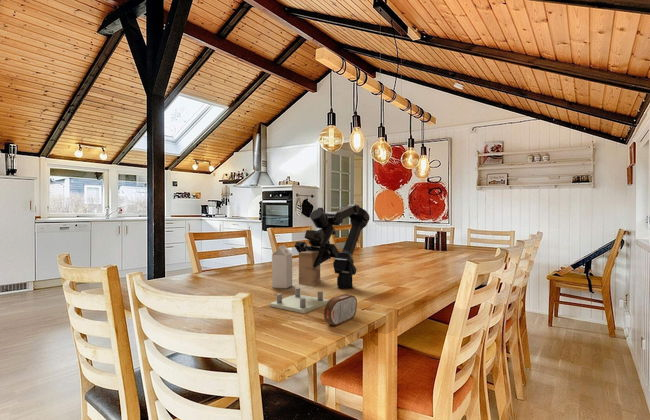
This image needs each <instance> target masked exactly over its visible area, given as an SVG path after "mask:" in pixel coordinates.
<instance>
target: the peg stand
mask: <svg viewBox="0 0 650 420" xmlns="http://www.w3.org/2000/svg"><path fill="white" fill-rule="evenodd" d="M323 296H324V293H323V291H317V297H316V296H309V295H304V294H301V288H300V287H297V288H294V294H292V295H289V296H286V297H284V298H283V294H282V293H277V294H276V300H275V301H272V302H269V307H271V308H277V309H280V310H286V311H289V312H290V311H291V312H296V313H301V314H306V313H308V312H311V311H313V310H316V309H318V308H320V307H323V306H326V304H327V302H328V301H329V300H330V299H328V298H324V297H323Z"/></svg>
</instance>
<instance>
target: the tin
mask: <svg viewBox="0 0 650 420" xmlns="http://www.w3.org/2000/svg"><path fill="white" fill-rule="evenodd" d="M328 300H329V301H328V302H327V304H325V305H324V310H323V319H324V321H325V323H326V324H329V325H332V326H338V325H340V324H343V323H345V322H348V321H349V320H352V319H353V318H354V316H355V315H356V313H357V308H358V300H357V298H356V296H355V295H353V294H349V293H344V294H341V295H340V294H339V295H337V296H334V297H331V298H330V299H328Z"/></svg>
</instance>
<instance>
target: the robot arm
mask: <svg viewBox="0 0 650 420" xmlns="http://www.w3.org/2000/svg"><path fill="white" fill-rule="evenodd" d="M309 218H310V220H311V222H312V223H313V225H314V226H315V228H316V229H317V230H314V229H306V230H305V233H304V237H303V238H305V239H306V240H308V243H309V244H310V245H307V243H306V242H305V241H296V242H295V244H294V245H293V246H294V248H295V250H297V252H298V253H299V252H304V251H316V252H319V255H318V257H317V259H316V261H315V263H314V265H313V267H314V268H316V267H317V266H318V265H320V266H321V264H322V263H324V262H326V261H327V260H331V259H332V258H333V263H332V264H333V270H334V274H338V276H337V277H336V279H337V280H336V286H337V288H338V289H354V288H353V276H354V275H356V274H357V267H356V266H355V264H354V262H355V260H354V257H353V255H354V251H355V249H356V246H357V243H358V241H359V237H360V235H361V231H362V230H363V229H364V228H365V227H367V226H368V223H369V221H370V219H371V218H370V214H369V212H367V210H366V209H364V208H362V207H360V205H359V204H356V203H353V204H347V205H346V206H344V207H342V208H340V209H338V210H336V211H335V210H333V211H326V212H325V210H324V208H323V207H318V208H316V209H314V210H312V212H310V214H309ZM346 218H350V224H351V227H350V230H349V233H348V235H347V237H346V240H345V243H344V245H343V247H342V248H343V249H342V250H341V251H339V250H338V248H337V246H336V245H335V244H334V243H331V242H330V240H331V239H330V238H331V237H332V236H333V235H336V232H337V231H336V229H335V227H334V226H336V227H337V226H340V225H341V224H342V223H343V222H344V219H346Z"/></svg>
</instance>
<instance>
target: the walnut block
mask: <svg viewBox="0 0 650 420" xmlns="http://www.w3.org/2000/svg"><path fill="white" fill-rule="evenodd" d="M318 255H319V252H316V251H304V252H298V285H301V286H308V287H314V286H317V285H320V284H321V264H320V265H318V266H317V267H316V268H314V267H313V265H314V263H315V261H316V259H317V257H318Z"/></svg>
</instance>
